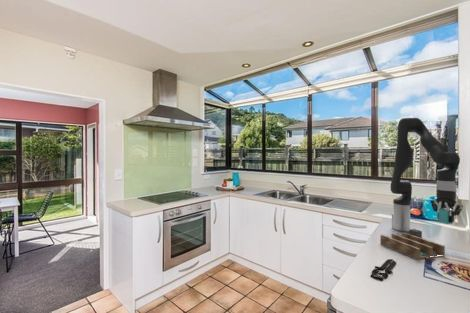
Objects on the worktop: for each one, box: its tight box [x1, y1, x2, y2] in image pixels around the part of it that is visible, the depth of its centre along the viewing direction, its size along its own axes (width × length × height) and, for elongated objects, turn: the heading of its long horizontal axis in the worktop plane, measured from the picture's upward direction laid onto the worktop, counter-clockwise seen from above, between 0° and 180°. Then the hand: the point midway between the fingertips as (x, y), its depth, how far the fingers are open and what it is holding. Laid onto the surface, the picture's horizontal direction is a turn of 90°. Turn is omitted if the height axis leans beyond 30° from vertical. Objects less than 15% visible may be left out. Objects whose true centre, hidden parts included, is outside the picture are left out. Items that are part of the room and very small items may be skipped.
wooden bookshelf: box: [379, 232, 446, 261], centre depth 117 cm, size 20×18×5 cm
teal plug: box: [438, 208, 454, 225], centre depth 118 cm, size 4×4×7 cm
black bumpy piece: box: [370, 258, 397, 282], centre depth 96 cm, size 25×6×1 cm, turn 127°
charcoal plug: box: [408, 228, 423, 238], centre depth 127 cm, size 4×4×7 cm
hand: (445, 221), depth 118 cm, fingers closed on teal plug, 4 cm apart
